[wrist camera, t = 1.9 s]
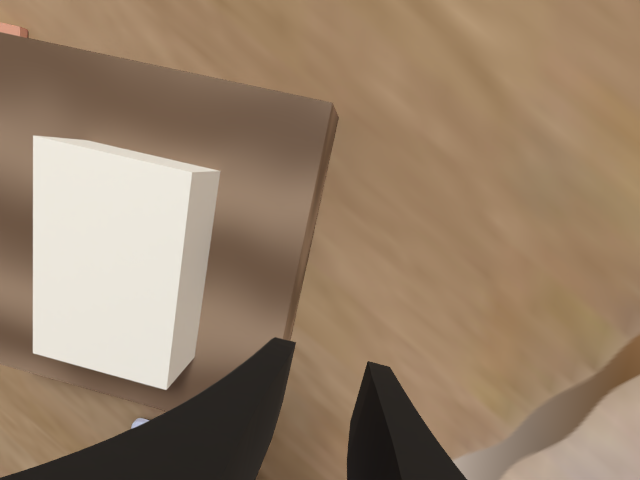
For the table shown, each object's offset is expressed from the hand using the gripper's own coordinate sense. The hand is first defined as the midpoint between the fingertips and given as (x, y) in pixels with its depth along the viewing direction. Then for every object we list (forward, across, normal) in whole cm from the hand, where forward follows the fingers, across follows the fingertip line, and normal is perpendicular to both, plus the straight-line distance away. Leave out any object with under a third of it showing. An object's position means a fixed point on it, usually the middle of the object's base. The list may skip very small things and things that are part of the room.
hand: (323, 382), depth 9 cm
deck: (+9, +10, 0) cm, 14 cm away
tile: (+5, +9, 0) cm, 10 cm away
